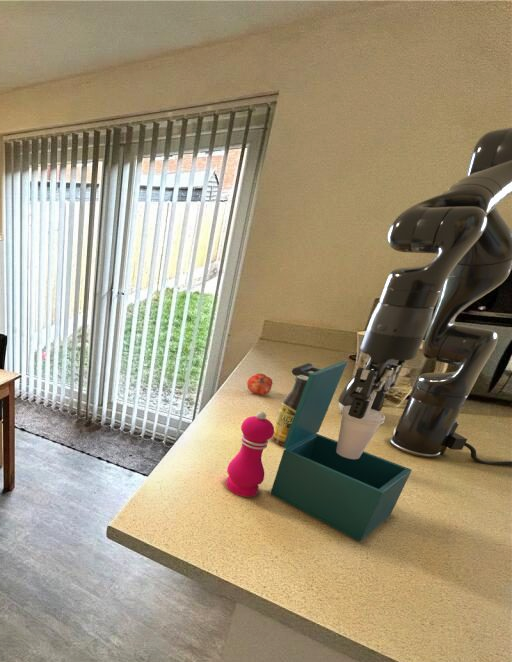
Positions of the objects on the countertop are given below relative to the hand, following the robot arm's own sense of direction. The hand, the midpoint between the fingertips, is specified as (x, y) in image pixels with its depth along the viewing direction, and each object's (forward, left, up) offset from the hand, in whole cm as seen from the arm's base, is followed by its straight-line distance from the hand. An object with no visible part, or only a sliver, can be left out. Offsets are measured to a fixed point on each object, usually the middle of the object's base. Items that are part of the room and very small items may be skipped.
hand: (363, 412), depth 76 cm
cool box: (0, 0, -23) cm, 23 cm away
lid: (+5, -6, -2) cm, 8 cm away
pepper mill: (+16, -4, -23) cm, 28 cm away
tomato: (-12, -60, -23) cm, 65 cm away
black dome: (-34, -45, -23) cm, 61 cm away
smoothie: (0, 0, -10) cm, 10 cm away
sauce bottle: (-4, -26, -23) cm, 35 cm away
